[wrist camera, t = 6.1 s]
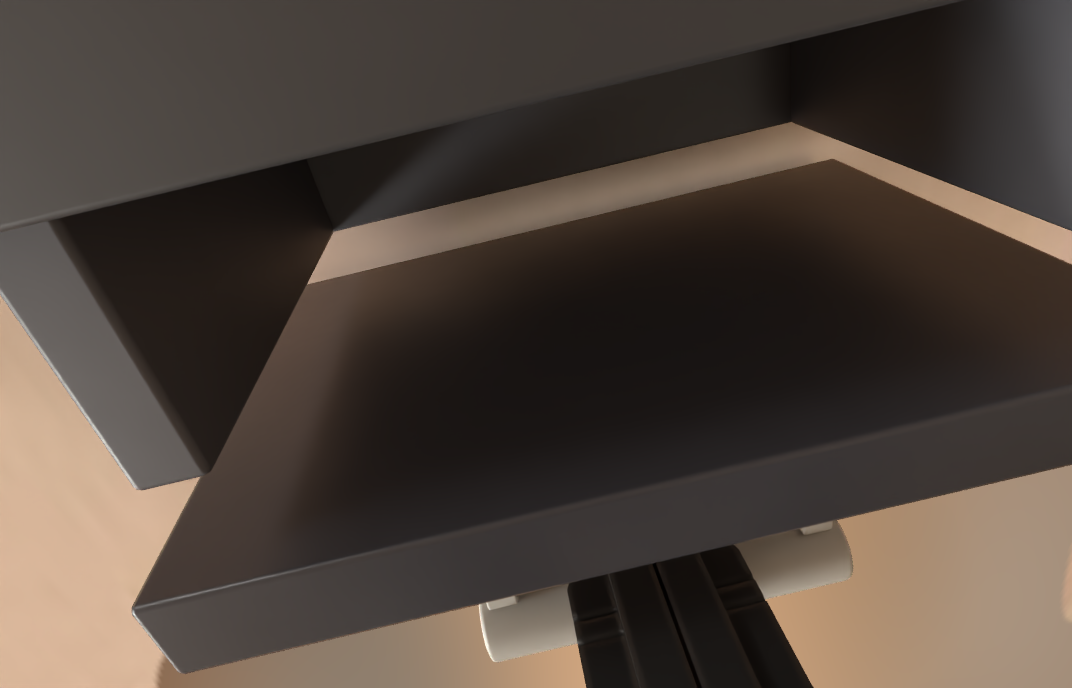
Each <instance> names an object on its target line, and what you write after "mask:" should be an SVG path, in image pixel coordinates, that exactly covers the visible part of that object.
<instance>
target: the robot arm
mask: <svg viewBox="0 0 1072 688" xmlns="http://www.w3.org/2000/svg"><path fill="white" fill-rule="evenodd" d="M567 593H568V598H569V603H570V608H571V613H572V618H573V622H574V628H575V633H576V638H577V642H578V648H579V653H580V658H581V663H582V668H583V673H584V678H585V683H586V688H813V686H812V685H811V683H810V681H809V679H808V677H807V675H806V674H805V672H804V670H803V668H802V666H801V664H800V663H799V661H798V659H797V657H796V655H795V653H794V651H793V650H792V648H791V646H790V644H789V642H788V640H787V638H786V637H785V634H784V633H783V631H782V629H781V627H780V625H779V623H778V622H777V620H776V618H775V616H774V614H773V612H772V610H771V608H770V606H769V605H768V603H767V601H765V599H764V595H763V593H762V591H761V590H760V588H759V586H758V584H757V582H756V580H754V578H753V575H752V573H751V571H750V569H749V567H748V565H747V563H746V562H745V560H744V558H743V556H742V554H741V552H740V550H739V549H738V548H737V547H736V546H735V545H729V546H725V547H721V548H716V549H712V550H708V551H704V552H699V553H695V554H691V555H687V556H683V557H678V558H674V559H670V560H666V561H661V562H657V563H653V564H649V565H644V566H640V567H636V568H632V569H627V570H623V571H619V572H615V573H610V574H606V575H602V576H598V577H593V578H589V579H585V580H581V581H577V582H572V583H569V585H568V589H567Z"/></svg>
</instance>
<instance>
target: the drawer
mask: <svg viewBox="0 0 1072 688" xmlns="http://www.w3.org/2000/svg"><path fill="white" fill-rule="evenodd" d="M789 122H793V123H795V124H798V125H800V126H803V127H806V128H808V129H811V130H813V131H816V132H818V133H821V134H824V135H826V136H829V137H831V138H834V139H836V140H839V141H842V142H844V143H847V144H849V145H852V146H854V147H857V148H860V149H862V150H865V151H867V152H870V153H872V154H875V155H878V156H880V157H883V158H885V159H888V160H890V161H893V162H896V163H898V164H901V165H903V166H906V167H908V168H911V169H914V170H916V171H919V172H921V173H924V174H926V175H929V176H932V177H934V178H937V179H939V180H942V181H944V182H947V183H950V184H952V185H955V186H957V187H960V188H962V189H965V190H968V191H970V192H973V193H975V194H978V195H980V196H983V197H986V198H988V199H991V200H993V201H996V202H998V203H1001V204H1004V205H1006V206H1009V207H1011V208H1014V209H1017V210H1019V211H1022V212H1024V213H1027V214H1029V215H1032V216H1035V217H1037V218H1040V219H1042V220H1045V221H1047V222H1050V223H1053V224H1055V225H1058V226H1060V227H1063V228H1065V229H1068V230H1071V231H1072V0H964V1H960V2H955V3H951V4H947V5H943V6H939V7H935V8H931V9H926V10H922V11H918V12H914V13H910V14H906V15H901V16H897V17H893V18H889V19H885V20H881V21H877V22H872V23H868V24H864V25H860V26H856V27H852V28H847V29H843V30H839V31H835V32H831V33H827V34H823V35H818V36H814V37H810V38H806V39H802V40H798V41H794V42H789V43H785V44H781V45H777V46H773V47H769V48H764V49H760V50H756V51H752V52H748V53H744V54H740V55H735V56H731V57H727V58H723V59H719V60H715V61H710V62H706V63H702V64H698V65H694V66H690V67H686V68H681V69H677V70H673V71H669V72H665V73H661V74H656V75H652V76H648V77H644V78H640V79H636V80H632V81H627V82H623V83H619V84H615V85H611V86H607V87H602V88H598V89H594V90H590V91H586V92H582V93H578V94H573V95H569V96H565V97H561V98H557V99H553V100H548V101H544V102H540V103H536V104H532V105H528V106H524V107H519V108H515V109H511V110H507V111H503V112H499V113H494V114H490V115H486V116H482V117H478V118H474V119H470V120H465V121H461V122H457V123H453V124H449V125H445V126H441V127H436V128H432V129H428V130H424V131H420V132H416V133H411V134H407V135H403V136H399V137H395V138H391V139H387V140H382V141H378V142H374V143H370V144H366V145H362V146H357V147H353V148H349V149H345V150H341V151H337V152H333V153H328V154H324V155H320V156H316V157H312V158H308V159H303V160H299V161H295V162H291V163H287V164H283V165H279V166H274V167H270V168H266V169H262V170H258V171H254V172H249V173H245V174H241V175H237V176H233V177H229V178H225V179H220V180H216V181H212V182H208V183H204V184H200V185H195V186H191V187H187V188H183V189H179V190H175V191H171V192H166V193H162V194H158V195H154V196H150V197H146V198H141V199H137V200H133V201H129V202H125V203H121V204H117V205H112V206H108V207H104V208H100V209H96V210H92V211H88V212H83V213H79V214H75V215H71V216H67V217H63V218H58V219H54V220H50V221H46V222H42V223H38V224H34V225H29V226H25V227H21V228H17V229H13V230H9V231H4V232H0V295H1V297H2V298H3V299H4V301H5V302H6V304H7V305H8V307H9V308H10V310H11V311H12V312H13V314H14V315H15V317H16V318H17V320H18V321H19V322H20V324H21V325H22V327H23V328H24V330H25V331H26V333H27V334H28V335H29V337H30V338H31V340H32V341H33V343H34V344H35V346H36V347H37V348H38V350H39V351H40V353H41V354H42V356H43V357H44V359H45V360H46V361H47V363H48V364H49V366H50V367H51V369H52V370H53V372H54V373H55V374H56V376H57V377H58V379H59V380H60V382H61V383H62V385H63V386H64V387H65V389H66V390H67V392H68V393H69V395H70V396H71V398H72V399H73V400H74V402H75V403H76V405H77V406H78V408H79V409H80V411H81V412H82V413H83V415H84V416H85V418H86V419H87V421H88V422H89V423H90V425H91V426H92V428H93V429H94V431H95V432H96V434H97V435H98V436H99V438H100V439H101V441H102V442H103V444H104V445H105V447H106V448H107V449H108V451H109V452H110V454H111V455H112V457H113V458H114V460H115V461H116V462H117V464H118V465H119V467H120V468H121V470H122V471H123V473H124V474H125V475H126V477H127V478H128V480H129V481H130V483H131V484H132V486H133V487H134V488H136V489H137V490H146V489H150V488H154V487H158V486H162V485H167V484H171V483H175V482H179V481H183V480H188V479H192V478H196V477H200V476H201V477H200V479H199V481H198V482H197V484H196V486H195V488H194V490H193V492H192V494H191V496H190V498H189V500H188V501H187V503H186V505H185V507H184V509H183V511H182V513H181V515H180V517H179V519H178V520H177V522H176V524H175V526H174V528H173V530H172V532H171V534H170V536H169V537H168V539H167V541H166V543H165V545H164V547H163V549H162V551H161V553H160V555H159V556H158V558H157V560H156V562H155V564H154V566H153V568H152V570H151V572H150V574H149V575H148V577H147V579H146V581H145V583H144V585H143V587H142V589H141V591H140V592H139V594H138V596H137V598H136V600H135V602H134V604H133V606H132V615H133V616H134V617H135V619H136V620H137V621H138V622H139V624H140V625H141V626H142V627H143V629H144V630H145V631H146V632H147V634H148V635H149V636H150V637H151V639H152V640H153V641H154V642H155V644H156V645H157V646H158V647H159V649H160V650H161V651H162V652H163V654H164V655H165V656H166V657H167V659H168V660H169V661H170V662H171V664H172V665H173V666H174V667H175V669H176V670H177V671H178V672H180V673H183V674H186V673H191V672H195V671H199V670H203V669H207V668H212V667H216V666H220V665H225V664H229V663H233V662H237V661H242V660H246V659H250V658H254V657H258V656H263V655H267V654H271V653H275V652H280V651H284V650H288V649H292V648H297V647H301V646H305V645H309V644H314V643H318V642H322V641H326V640H330V639H335V638H339V637H343V636H347V635H352V634H356V633H360V632H364V631H369V630H373V629H377V628H381V627H386V626H390V625H394V624H398V623H403V622H407V621H411V620H415V619H420V618H424V617H428V616H432V615H436V614H440V613H445V612H449V611H453V610H458V609H462V608H466V607H470V606H475V605H479V612H480V620H481V627H482V632H483V637H484V641H485V644H486V648H487V651H488V653H489V655H490V657H491V659H492V660H493V661H494V662H501V661H505V660H510V659H514V658H518V657H522V656H526V655H531V654H535V653H539V652H543V651H548V650H552V649H556V648H561V647H565V646H569V645H573V644H578V642H577V638H576V633H575V628H574V622H573V618H572V613H571V608H570V603H569V598H568V593H567V589H568V585H569V583H572V582H577V581H581V580H585V579H589V578H593V577H598V576H602V575H606V574H610V573H615V572H619V571H623V570H627V569H632V568H636V567H640V566H644V565H649V564H653V563H657V562H661V561H666V560H670V559H674V558H678V557H683V556H687V555H691V554H695V553H699V552H704V551H708V550H712V549H716V548H721V547H725V546H729V545H735V546H736V547H737V548H738V549H739V550H740V552H741V554H742V556H743V558H744V560H745V562H746V563H747V565H748V567H749V569H750V571H751V573H752V575H753V578H754V580H756V582H757V584H758V586H759V588H760V590H761V591H762V593H763V595H764V599H769V598H773V597H777V596H782V595H786V594H790V593H794V592H799V591H803V590H807V589H811V588H815V587H820V586H824V585H828V584H832V583H837V582H841V581H845V580H847V579H849V578H850V577H851V575H852V572H853V561H852V555H851V551H850V547H849V544H848V541H847V539H846V536H845V534H844V532H843V530H842V528H841V526H840V524H839V523H838V521H837V520H839V519H844V518H848V517H852V516H856V515H861V514H865V513H869V512H873V511H877V510H881V509H886V508H890V507H894V506H899V505H903V504H907V503H911V502H916V501H920V500H924V499H928V498H933V497H937V496H941V495H945V494H950V493H953V492H958V491H962V490H967V489H971V488H975V487H979V486H983V485H988V484H992V483H996V482H1000V481H1005V480H1009V479H1013V478H1017V477H1022V476H1026V475H1030V474H1034V473H1038V472H1042V471H1047V470H1051V469H1055V468H1060V467H1064V466H1068V465H1072V264H1070V263H1067V262H1065V261H1063V260H1061V259H1058V258H1056V257H1054V256H1051V255H1049V254H1047V253H1045V252H1042V251H1040V250H1038V249H1036V248H1033V247H1031V246H1029V245H1027V244H1024V243H1022V242H1020V241H1018V240H1015V239H1013V238H1011V237H1009V236H1006V235H1004V234H1002V233H1000V232H997V231H995V230H993V229H991V228H988V227H986V226H984V225H982V224H979V223H977V222H975V221H973V220H970V219H968V218H966V217H963V216H961V215H959V214H957V213H954V212H952V211H950V210H948V209H945V208H943V207H941V206H939V205H936V204H934V203H932V202H930V201H927V200H925V199H923V198H921V197H918V196H916V195H914V194H912V193H909V192H907V191H905V190H903V189H900V188H898V187H896V186H894V185H891V184H889V183H887V182H885V181H882V180H880V179H878V178H876V177H873V176H871V175H869V174H866V173H864V172H862V171H860V170H857V169H855V168H853V167H851V166H848V165H846V164H844V163H842V162H839V161H837V160H835V159H830V160H826V161H822V162H817V163H813V164H809V165H805V166H801V167H797V168H792V169H788V170H784V171H780V172H776V173H772V174H767V175H763V176H759V177H755V178H751V179H746V180H742V181H738V182H734V183H730V184H726V185H721V186H717V187H713V188H709V189H705V190H701V191H696V192H692V193H688V194H684V195H680V196H675V197H671V198H667V199H663V200H659V201H655V202H650V203H646V204H642V205H638V206H634V207H630V208H625V209H621V210H617V211H613V212H609V213H605V214H600V215H596V216H592V217H588V218H584V219H579V220H575V221H571V222H567V223H563V224H559V225H554V226H550V227H546V228H542V229H538V230H534V231H529V232H525V233H521V234H517V235H513V236H508V237H504V238H500V239H496V240H492V241H488V242H483V243H479V244H475V245H471V246H467V247H463V248H458V249H454V250H450V251H446V252H442V253H438V254H433V255H429V256H425V257H421V258H417V259H412V260H408V261H404V262H400V263H396V264H392V265H387V266H383V267H379V268H375V269H371V270H367V271H362V272H358V273H354V274H350V275H346V276H341V277H337V278H333V279H329V280H325V281H321V282H316V283H312V284H308V285H307V283H308V281H309V279H310V277H311V275H312V273H313V271H314V269H315V267H316V265H317V263H318V261H319V259H320V257H321V255H322V253H323V251H324V249H325V247H326V245H327V243H328V242H329V240H330V238H331V236H332V234H333V232H334V231H338V230H343V229H347V228H351V227H355V226H359V225H363V224H368V223H372V222H376V221H380V220H384V219H388V218H393V217H397V216H401V215H405V214H409V213H413V212H418V211H422V210H426V209H430V208H434V207H438V206H443V205H447V204H451V203H455V202H459V201H463V200H468V199H472V198H476V197H480V196H484V195H488V194H493V193H497V192H501V191H505V190H509V189H513V188H518V187H522V186H526V185H530V184H534V183H538V182H543V181H547V180H551V179H555V178H559V177H563V176H568V175H572V174H576V173H580V172H584V171H588V170H593V169H597V168H601V167H605V166H609V165H613V164H618V163H622V162H626V161H630V160H634V159H638V158H643V157H647V156H651V155H655V154H659V153H664V152H668V151H672V150H676V149H680V148H684V147H689V146H693V145H697V144H701V143H705V142H709V141H714V140H718V139H722V138H726V137H730V136H734V135H739V134H743V133H747V132H751V131H755V130H759V129H764V128H768V127H772V126H776V125H780V124H784V123H789Z"/></svg>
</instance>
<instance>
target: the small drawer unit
mask: <svg viewBox="0 0 1072 688" xmlns="http://www.w3.org/2000/svg"><path fill="white" fill-rule="evenodd" d="M960 1H964V0H0V232H4V231H9V230H13V229H17V228H21V227H25V226H29V225H34V224H38V223H42V222H46V221H50V220H54V219H58V218H63V217H67V216H71V215H75V214H79V213H83V212H88V211H92V210H96V209H100V208H104V207H108V206H112V205H117V204H121V203H125V202H129V201H133V200H137V199H141V198H146V197H150V196H154V195H158V194H162V193H166V192H171V191H175V190H179V189H183V188H187V187H191V186H195V185H200V184H204V183H208V182H212V181H216V180H220V179H225V178H229V177H233V176H237V175H241V174H245V173H249V172H254V171H258V170H262V169H266V168H270V167H274V166H279V165H283V164H287V163H291V162H295V161H299V160H303V159H308V158H312V157H316V156H320V155H324V154H328V153H333V152H337V151H341V150H345V149H349V148H353V147H357V146H362V145H366V144H370V143H374V142H378V141H382V140H387V139H391V138H395V137H399V136H403V135H407V134H411V133H416V132H420V131H424V130H428V129H432V128H436V127H441V126H445V125H449V124H453V123H457V122H461V121H465V120H470V119H474V118H478V117H482V116H486V115H490V114H494V113H499V112H503V111H507V110H511V109H515V108H519V107H524V106H528V105H532V104H536V103H540V102H544V101H548V100H553V99H557V98H561V97H565V96H569V95H573V94H578V93H582V92H586V91H590V90H594V89H598V88H602V87H607V86H611V85H615V84H619V83H623V82H627V81H632V80H636V79H640V78H644V77H648V76H652V75H656V74H661V73H665V72H669V71H673V70H677V69H681V68H686V67H690V66H694V65H698V64H702V63H706V62H710V61H715V60H719V59H723V58H727V57H731V56H735V55H740V54H744V53H748V52H752V51H756V50H760V49H764V48H769V47H773V46H777V45H781V44H785V43H789V42H794V41H798V40H802V39H806V38H810V37H814V36H818V35H823V34H827V33H831V32H835V31H839V30H843V29H847V28H852V27H856V26H860V25H864V24H868V23H872V22H877V21H881V20H885V19H889V18H893V17H897V16H901V15H906V14H910V13H914V12H918V11H922V10H926V9H931V8H935V7H939V6H943V5H947V4H951V3H955V2H960Z"/></svg>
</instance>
